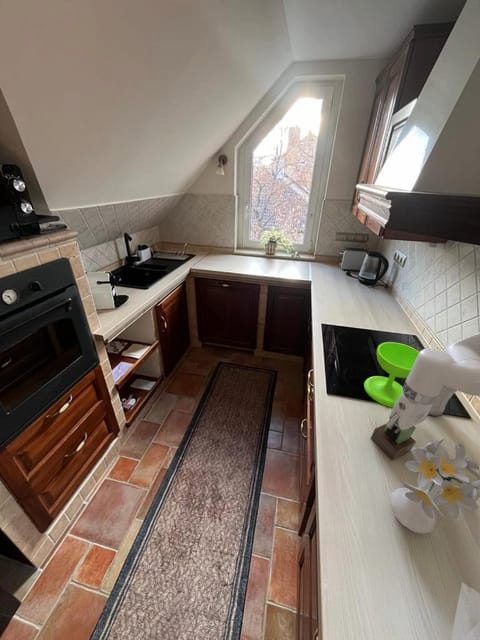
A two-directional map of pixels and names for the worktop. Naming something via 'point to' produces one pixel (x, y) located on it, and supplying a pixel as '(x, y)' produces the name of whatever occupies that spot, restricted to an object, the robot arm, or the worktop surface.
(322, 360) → the worktop surface
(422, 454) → the flower vase
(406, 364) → the wineglass
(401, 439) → the green block
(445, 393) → the plastic bottle
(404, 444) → the walnut block
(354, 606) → the worktop surface
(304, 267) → the worktop surface
